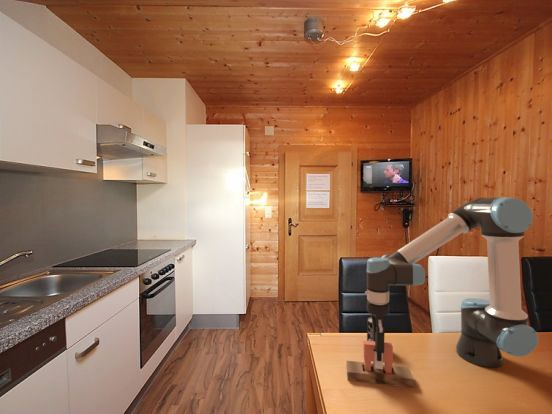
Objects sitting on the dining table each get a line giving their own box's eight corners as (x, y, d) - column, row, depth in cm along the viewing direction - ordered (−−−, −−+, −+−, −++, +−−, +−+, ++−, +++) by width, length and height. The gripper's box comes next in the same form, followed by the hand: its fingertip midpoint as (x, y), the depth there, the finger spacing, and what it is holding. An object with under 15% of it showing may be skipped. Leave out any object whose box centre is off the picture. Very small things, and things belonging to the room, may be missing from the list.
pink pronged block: (391, 370, 98) (391, 342, 98) (392, 374, 96) (392, 346, 96) (363, 367, 100) (363, 340, 100) (364, 371, 98) (364, 344, 98)
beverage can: (384, 352, 114) (384, 324, 114) (368, 350, 116) (368, 322, 116) (381, 344, 121) (381, 317, 121) (366, 342, 122) (366, 316, 122)
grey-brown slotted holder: (408, 374, 99) (408, 366, 99) (414, 387, 93) (413, 379, 92) (346, 368, 104) (346, 360, 104) (347, 380, 97) (347, 371, 97)
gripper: (364, 293, 106) (364, 352, 107) (369, 309, 91) (370, 378, 91) (384, 294, 104) (384, 354, 105) (393, 310, 89) (393, 381, 90)
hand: (377, 365), depth 98 cm, fingers closed on pink pronged block, 3 cm apart
